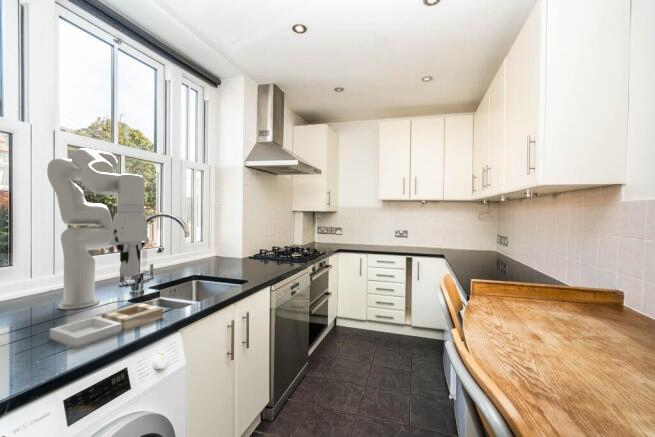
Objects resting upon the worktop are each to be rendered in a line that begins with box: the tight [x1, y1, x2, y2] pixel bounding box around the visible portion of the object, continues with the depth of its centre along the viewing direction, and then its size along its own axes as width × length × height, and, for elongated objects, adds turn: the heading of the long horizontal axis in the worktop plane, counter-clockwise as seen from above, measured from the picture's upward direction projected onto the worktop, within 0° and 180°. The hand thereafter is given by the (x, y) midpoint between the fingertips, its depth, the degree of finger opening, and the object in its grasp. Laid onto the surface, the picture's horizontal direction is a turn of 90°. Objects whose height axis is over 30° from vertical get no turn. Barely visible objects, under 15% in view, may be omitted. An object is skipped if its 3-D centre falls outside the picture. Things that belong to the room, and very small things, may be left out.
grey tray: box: [49, 315, 123, 349], centre depth 88 cm, size 14×12×3 cm
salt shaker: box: [119, 240, 141, 278], centre depth 99 cm, size 6×6×13 cm
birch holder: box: [101, 302, 164, 331], centre depth 101 cm, size 13×13×4 cm
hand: (130, 261), depth 99 cm, fingers closed on salt shaker, 3 cm apart
